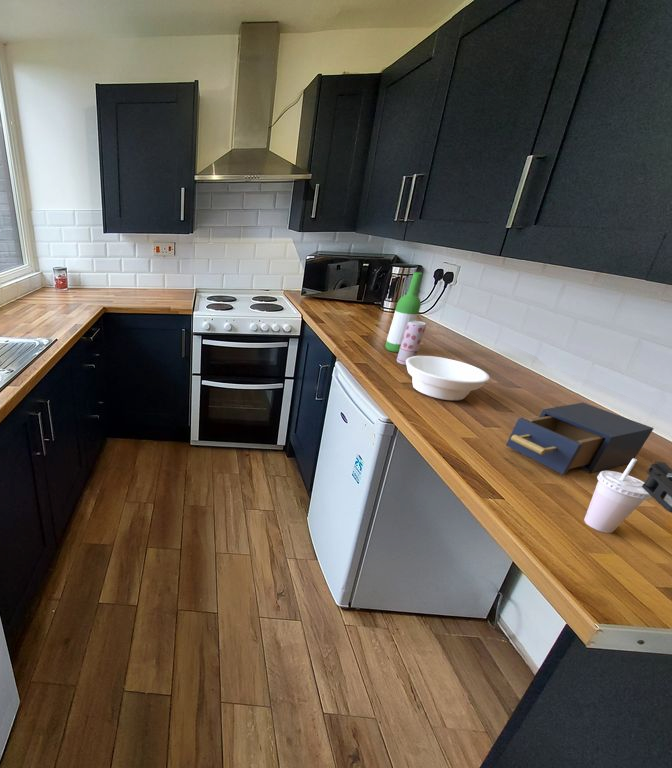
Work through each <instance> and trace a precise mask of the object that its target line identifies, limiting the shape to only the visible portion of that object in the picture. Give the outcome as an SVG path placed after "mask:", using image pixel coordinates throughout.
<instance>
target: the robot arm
mask: <svg viewBox="0 0 672 768" xmlns="http://www.w3.org/2000/svg"><path fill="white" fill-rule="evenodd" d="M646 474H647V475H648V477H647V479H646V480H645V481H644V484H643V485H642V488H643V489H644V490H646V491H647V492H648V493H649V494H650V495H651V498H653V499H654V500H655V501H656V502H657V503H659V505H660V506H661V507H662V508H663V509H665V510H666V511H667V512H669V513H671V514H672V468H671V466H669V465H668V464H667V463H666V462H663V461H658V460H657V461H654V462H653V463H651V465H650V466H649V468H648V470H647V471H646Z"/></svg>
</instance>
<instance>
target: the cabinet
mask: <svg viewBox="0 0 672 768" xmlns="http://www.w3.org/2000/svg"><path fill="white" fill-rule="evenodd" d="M545 416H552V417H555V418H557V419H560V420H562V421H564V422H567V423H569V424H572V425H574V426H577V427H579V428H582V429H584V430H586V431H589V432H591V433H594V434H596V435H599V436H601V437H603V438H606V439H605V440H604V442H603V444H602V445H601V447H600V449H599V451H598V452H597V454H596V456H595V457H594V459H593V461H592V463H591V464H588V465H584V466H580V467H579V468H580V469H582V470H584V471H586V472H588V473H590V474H592V473H596V472H602V471H606V470H608V469H612V468H617V467H620V466H624V465H629V463H630V462H631V460H632V458H635V459H636V457H637V456H638V454H639V452H640V451H641V450H642V448H643V446H644V445H645V443H646V442H647V440H648V438H649V437H650V435H651V434H652V432H653V430H654V427H651V426H649V425H647V424H644V423H641V422H639V421H635V420H633V419H630V418H627V417H625V416H621V415H620V414H616V413H614V412H610V411H608V410H605V409H602V408H599V407H597V406H594V405H591V404H589V403H587V402H578V403H573V404H565V405H561V406H554V407H548V408H543V409H542V411H541V413H540V414H539V417H538V418H540V417H545Z"/></svg>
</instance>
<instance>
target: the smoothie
mask: <svg viewBox="0 0 672 768" xmlns="http://www.w3.org/2000/svg"><path fill="white" fill-rule="evenodd" d="M637 462H638V459H637V458H636V457H635V458H632V460H631V462H630V463H629V464H627V467H626V468H625V470H624V471H623V472H618V471H614V470H601V471H599V474H598V475H597V476H596V479H597V483H596V486H595V489H594V491H593V494H592V497H591V500H590V503H589V505H588V508H587V510H586V512H585V516H584V518H583V521H584V523H585V524H586V525H587V526H588V527H590V528H592V529H594V530H595V531H598V532H600V533H601V532H602V533H604V534H612V533H613V532H615V530H617V528H618V527H620V525H622V523H623V522H624V521H625V520H626V519H627V518H628V517H630V515H631V514H632V513H634V511H635V510H636V509H637V508H638V507H639V506H640V505H641V504H642V503H643V502H644V501H645V500H648V499H651V498H652V496H651V495H650V494H649V493H648V492H647V491H646V490H644V489H643V488H642V485H643V484H644V483H645V481H642V480H641V479H639V478H636V477H634V476H631V475H630V472H631V471H632V469H633V468H634V466H635V465H636V463H637Z"/></svg>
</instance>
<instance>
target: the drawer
mask: <svg viewBox="0 0 672 768" xmlns="http://www.w3.org/2000/svg"><path fill="white" fill-rule="evenodd" d="M539 417H540V416H539ZM539 417H535V418H529V419H526V418H524V417H519V418H517V421H516V423H515V425H514V427H513V429H512V431H511V434H510V436H509V437H508V440H507V442H506V445H505V446H506V447H508V448H509V449H511V450H514V451H516V452H518V453H520V454H522V455H524V456H526V457H528V458H529V459H531V460H534V461H535V462H538V463H539V464H542V465H543V466H545V467H547V468H549V469H551V470H552V471H555V472H557V473H559V474H560V475H566V474H568V472H569V470H571V469H575V468H576V469H577V468H580V466H584V465H588V464H591V463H592V461H593V459H594V457H595V456H596V454H597V452H598V451H599V449H600V447H601V445H602V444H603V442H604V440H605V439H606V438H603V437H601V436H599V435H596V434H594V433H591V432H589V431H586V430H584V429H582V428H579V427H577V426H574V425H572V424H569V423H567V422H564V421H562V420H560V419H557V418H555V417H552V416H545V417H540V418H539Z"/></svg>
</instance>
